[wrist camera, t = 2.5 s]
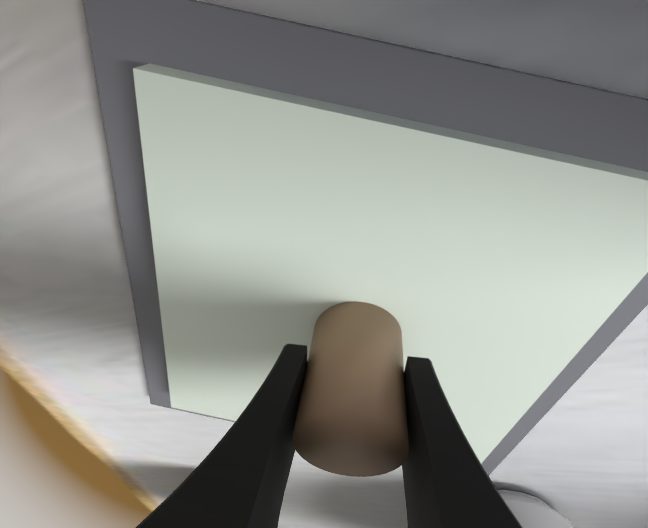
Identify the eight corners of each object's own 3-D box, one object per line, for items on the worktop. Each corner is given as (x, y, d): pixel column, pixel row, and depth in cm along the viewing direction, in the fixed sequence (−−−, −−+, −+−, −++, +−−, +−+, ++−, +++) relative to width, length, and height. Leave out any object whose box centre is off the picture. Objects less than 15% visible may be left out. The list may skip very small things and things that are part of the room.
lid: (691, 181, 10) (906, 309, 6) (470, 454, 18) (495, 583, 14) (149, 63, 10) (-10, 110, 6) (179, 392, 18) (122, 503, 14)
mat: (789, 130, 9) (804, 135, 9) (486, 468, 19) (487, 476, 19) (89, -23, 9) (79, -24, 9) (154, 396, 19) (150, 403, 19)
